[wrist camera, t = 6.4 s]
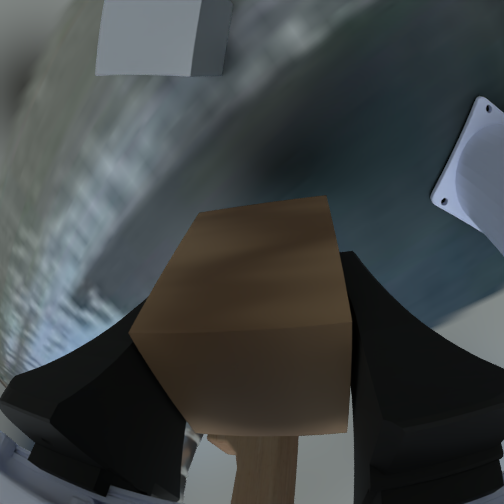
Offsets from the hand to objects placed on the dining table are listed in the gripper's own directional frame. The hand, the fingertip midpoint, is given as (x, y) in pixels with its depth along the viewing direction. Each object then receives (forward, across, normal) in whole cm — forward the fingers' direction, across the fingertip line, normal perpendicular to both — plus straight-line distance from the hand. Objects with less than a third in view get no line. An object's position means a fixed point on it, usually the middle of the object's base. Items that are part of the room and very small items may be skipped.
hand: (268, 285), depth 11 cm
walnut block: (+2, 0, 0) cm, 2 cm away
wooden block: (+10, +6, +25) cm, 28 cm away
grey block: (+10, +3, -10) cm, 15 cm away
